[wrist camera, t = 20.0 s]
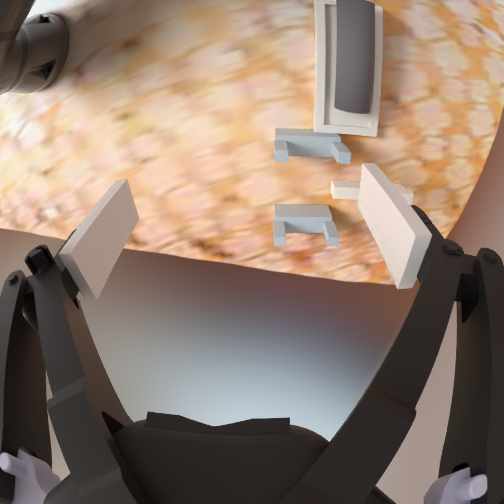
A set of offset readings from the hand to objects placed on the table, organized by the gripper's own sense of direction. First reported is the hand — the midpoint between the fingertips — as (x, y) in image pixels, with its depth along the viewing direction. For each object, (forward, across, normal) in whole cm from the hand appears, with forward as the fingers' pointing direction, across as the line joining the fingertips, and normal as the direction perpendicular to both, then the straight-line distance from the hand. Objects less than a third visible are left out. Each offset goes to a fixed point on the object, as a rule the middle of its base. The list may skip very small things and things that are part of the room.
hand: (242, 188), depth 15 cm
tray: (+28, +14, +6) cm, 32 cm away
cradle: (+28, +7, -12) cm, 31 cm away
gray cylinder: (+27, +14, +8) cm, 31 cm away
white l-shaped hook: (+18, +15, -10) cm, 25 cm away
